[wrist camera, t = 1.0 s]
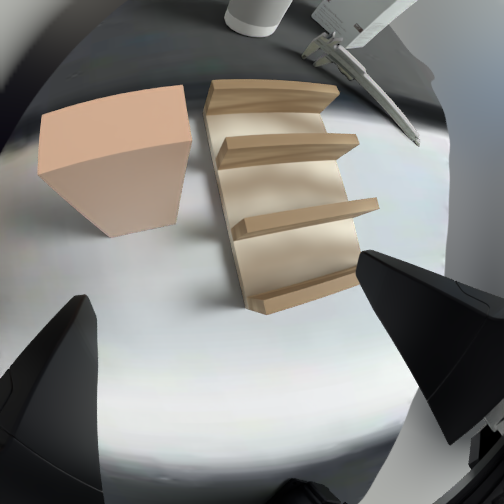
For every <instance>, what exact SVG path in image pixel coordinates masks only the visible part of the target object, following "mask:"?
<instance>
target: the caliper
mask: <svg viewBox="0 0 504 504" xmlns="http://www.w3.org/2000/svg"><path fill="white" fill-rule="evenodd" d="M334 35H335V31H334V32H332V33H331V34H329V35H328V34H326V33H325V32H324V33H322V34H321V35H319V36H318V37H316V38H315V39H313V40H312V42H311V43H310V44H309V46H308V47H307V48H306V50H305V51H304V53H303V54H302V58H303V59H305V58H306V57H308V56H309V55H311V54H312V53H314V52H315V51H317V50H319V49H320V48H321V49H322V50H323V51H324V52H326V53H325V54H324V55H322V56H321V57H319V58H318V59H317V60H316V61H314V63H313V66H315V67H318V66H322V65H326V64H330V63H333V62H334V63H335V64H336V65H337V66H338V69H339V70H340V72H341V73H342V74H344V75H345V76H346V77H347V78H348V80H349V81H352V80H354V79H355V80H356V81H357V82H358V83H359V84H360V85H361V86H362V87H363V88H364V89H365V90H366V91H367V92H368V93H369V94H370V95H371V96H372V97H373V98H374V99H375V100H376V101H377V102H378V103H379V104H380V105H381V106H382V107H383V108H384V110H385V111H386V112H387V113H388V114H389V115H390V116H391V118H392V119H393V120H394V121H395V122H396V123H397V125H398V126H399V127H400V128H401V130H402V131H403V132H404V133H405V134H406V135H407V136H408V137H409V138H410V139H411V140H412V141H415V143H416V144H417V145H418V146H420V139H419V133H418V132H417V131H416V129H415V128H414V127H413V126H412V124H411V123H410V122H409V120H408V119H407V118H406V117H405V115H404V114H403V113H402V112H401V111H400V109H399V108H398V107H397V106H396V105H395V103H394V102H393V101H392V100H391V99H390V98H389V97H388V96H387V94H386V93H385V92H384V91H383V90H382V89H381V88H380V87H379V86H378V85H377V84H376V83H375V82H374V80H373V79H372V78H371V77H370V76H369V75H368V74H367V73H366V72H365V71H366V69H365V68H364V67H363V66H362V65H361V64H360V63H359V62H358V61H357V60H356V59H355V58H354V57H353V56H352V55H351V54H350V53H349V52H348V51H347V50H346V49H345V48H344V47H343V46H341V45H338V46H337V44H339V43H340V42H342V40H343V38H335V39H333V37H334ZM332 39H333V40H332Z"/></svg>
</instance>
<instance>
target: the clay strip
mask: <svg viewBox="0 0 504 504" xmlns="http://www.w3.org/2000/svg"><path fill="white" fill-rule="evenodd" d="M191 144H192V137H191V131H190V125H189V120H188V114H187V108H186V102H185V96H184V90H183V85H178V86H169V87H161V88H154V89H147V90H141V91H135V92H129V93H124V94H119V95H114V96H109V97H105V98H100V99H96V100H92V101H88V102H84V103H80V104H77V105H73V106H70V107H66V108H63V109H60V110H56V111H53V112H50V113H47V114H44V115H42V120H41V128H40V139H39V152H38V176H39V177H40V178H41V179H42V180H44V181H45V182H46V183H47V184H48V185H49V186H50V187H51V188H52V189H53V190H54V191H56V192H57V193H58V194H59V195H60V196H61V197H62V198H63V199H65V200H66V201H67V202H68V203H69V204H70V205H71V206H73V207H74V208H75V209H76V210H77V211H78V212H80V213H81V214H82V215H83V216H84V217H85V218H87V219H88V220H89V221H90V222H91V223H93V224H94V225H95V226H96V227H98V228H99V229H100V230H101V231H102V232H104V233H105V234H106V235H107V236H109V237H110V238H113V237H117V236H122V235H126V234H131V233H135V232H140V231H145V230H149V229H154V228H159V227H164V226H169V225H174V224H176V221H177V215H178V209H179V203H180V198H181V192H182V187H183V182H184V177H185V172H186V167H187V162H188V157H189V153H190V148H191Z"/></svg>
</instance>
